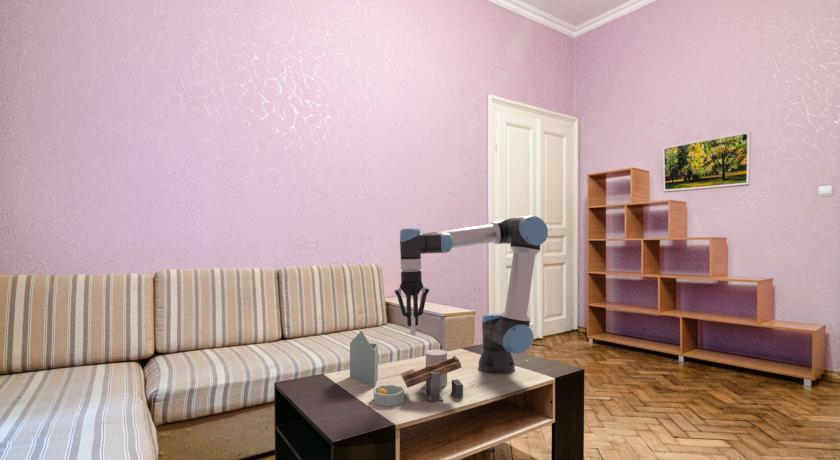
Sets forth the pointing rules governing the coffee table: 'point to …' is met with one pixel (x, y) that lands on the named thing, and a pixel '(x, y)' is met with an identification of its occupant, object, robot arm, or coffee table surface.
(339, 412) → the coffee table surface
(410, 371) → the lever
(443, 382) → the pale pink cylinder
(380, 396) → the bowl
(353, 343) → the planter
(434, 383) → the fulcrum
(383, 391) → the ball
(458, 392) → the block
